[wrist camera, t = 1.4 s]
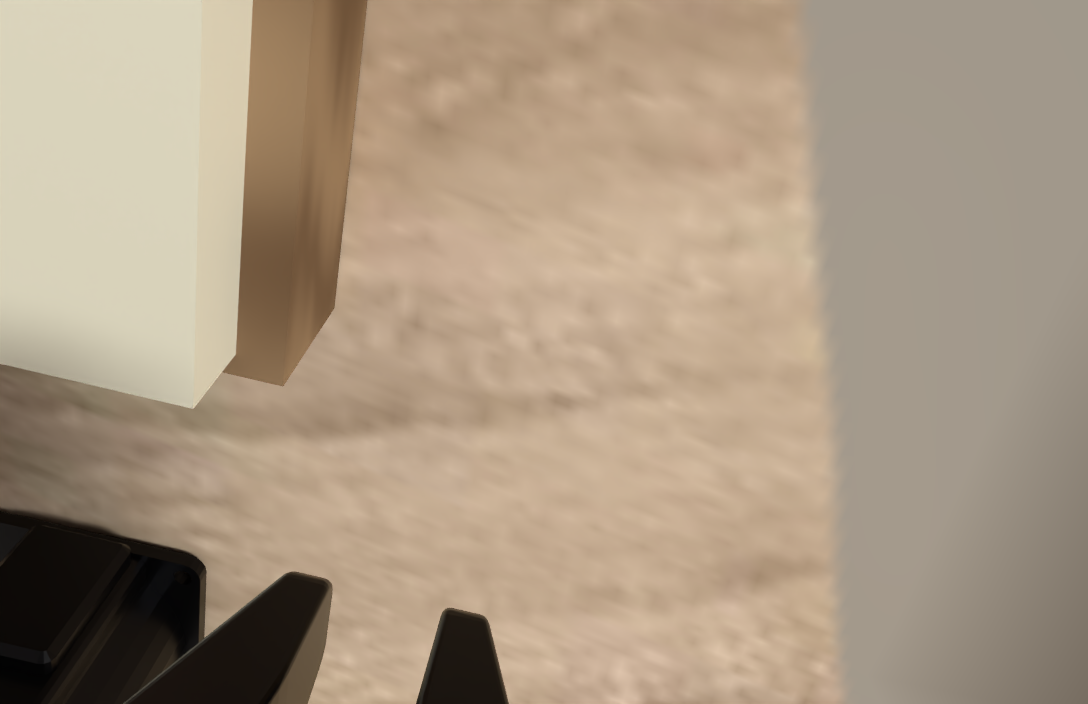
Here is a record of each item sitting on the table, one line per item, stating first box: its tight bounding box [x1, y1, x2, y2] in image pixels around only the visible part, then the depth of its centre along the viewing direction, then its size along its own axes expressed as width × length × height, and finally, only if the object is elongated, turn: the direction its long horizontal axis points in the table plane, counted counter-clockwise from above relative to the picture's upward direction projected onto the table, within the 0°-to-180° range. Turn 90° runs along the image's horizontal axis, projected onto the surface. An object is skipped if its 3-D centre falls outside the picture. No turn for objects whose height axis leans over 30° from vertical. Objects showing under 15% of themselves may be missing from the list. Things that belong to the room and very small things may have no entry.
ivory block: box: [0, 0, 253, 409], centre depth 16 cm, size 8×6×2 cm
